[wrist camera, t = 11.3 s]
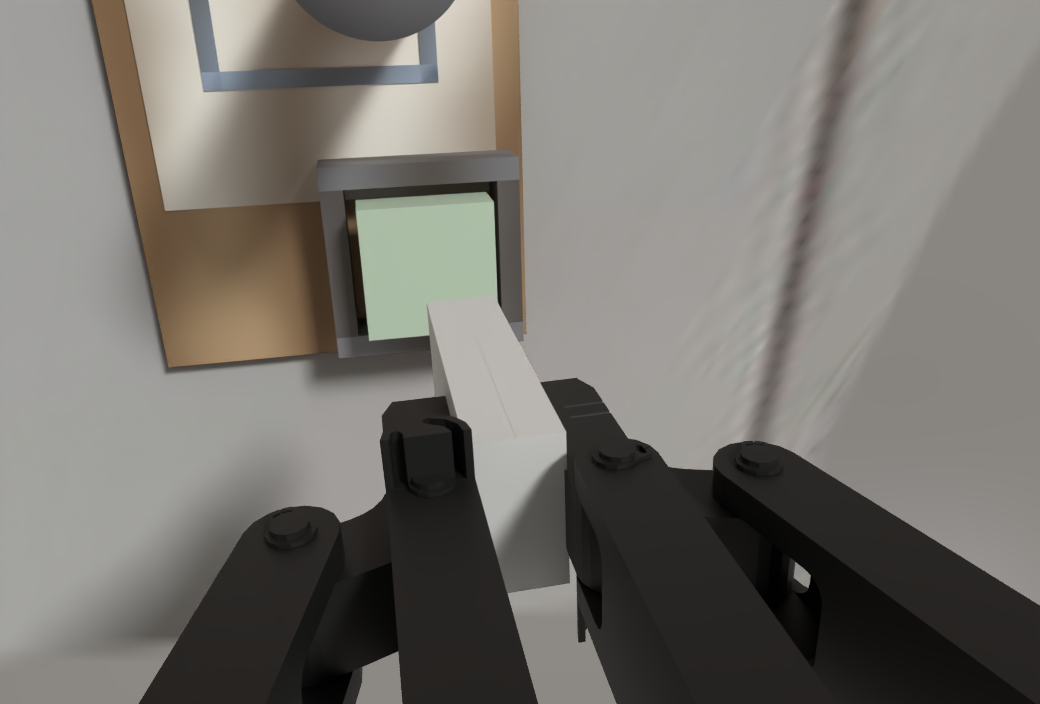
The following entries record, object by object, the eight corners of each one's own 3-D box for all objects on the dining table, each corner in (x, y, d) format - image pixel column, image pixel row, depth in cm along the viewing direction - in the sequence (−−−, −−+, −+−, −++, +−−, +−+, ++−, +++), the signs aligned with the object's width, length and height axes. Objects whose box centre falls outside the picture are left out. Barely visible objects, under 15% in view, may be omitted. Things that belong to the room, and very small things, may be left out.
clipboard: (171, 361, 31) (157, 388, 29) (42, -262, 24) (8, -294, 21) (523, 328, 34) (536, 351, 31) (508, -248, 26) (524, -275, 24)
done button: (368, 323, 30) (369, 340, 28) (355, 199, 28) (355, 210, 26) (490, 312, 30) (498, 328, 29) (485, 191, 29) (493, 201, 27)
